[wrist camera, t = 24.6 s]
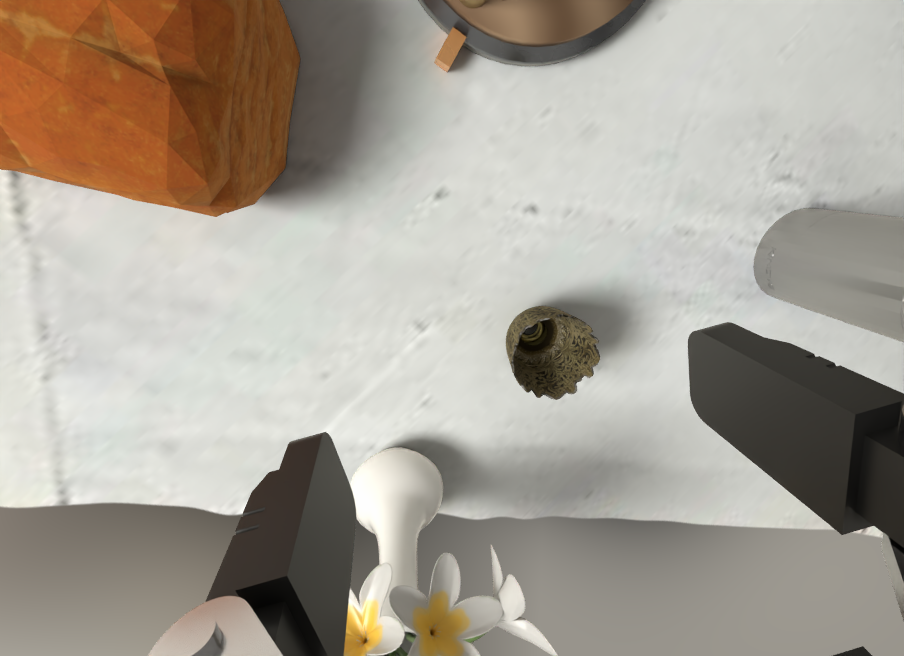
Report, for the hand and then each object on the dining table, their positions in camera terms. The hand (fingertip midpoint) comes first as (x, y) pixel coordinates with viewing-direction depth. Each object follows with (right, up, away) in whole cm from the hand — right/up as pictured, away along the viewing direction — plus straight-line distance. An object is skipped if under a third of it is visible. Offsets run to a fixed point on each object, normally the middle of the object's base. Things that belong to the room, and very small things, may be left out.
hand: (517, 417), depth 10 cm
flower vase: (-7, -13, +38) cm, 41 cm away
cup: (+6, +2, +35) cm, 35 cm away
